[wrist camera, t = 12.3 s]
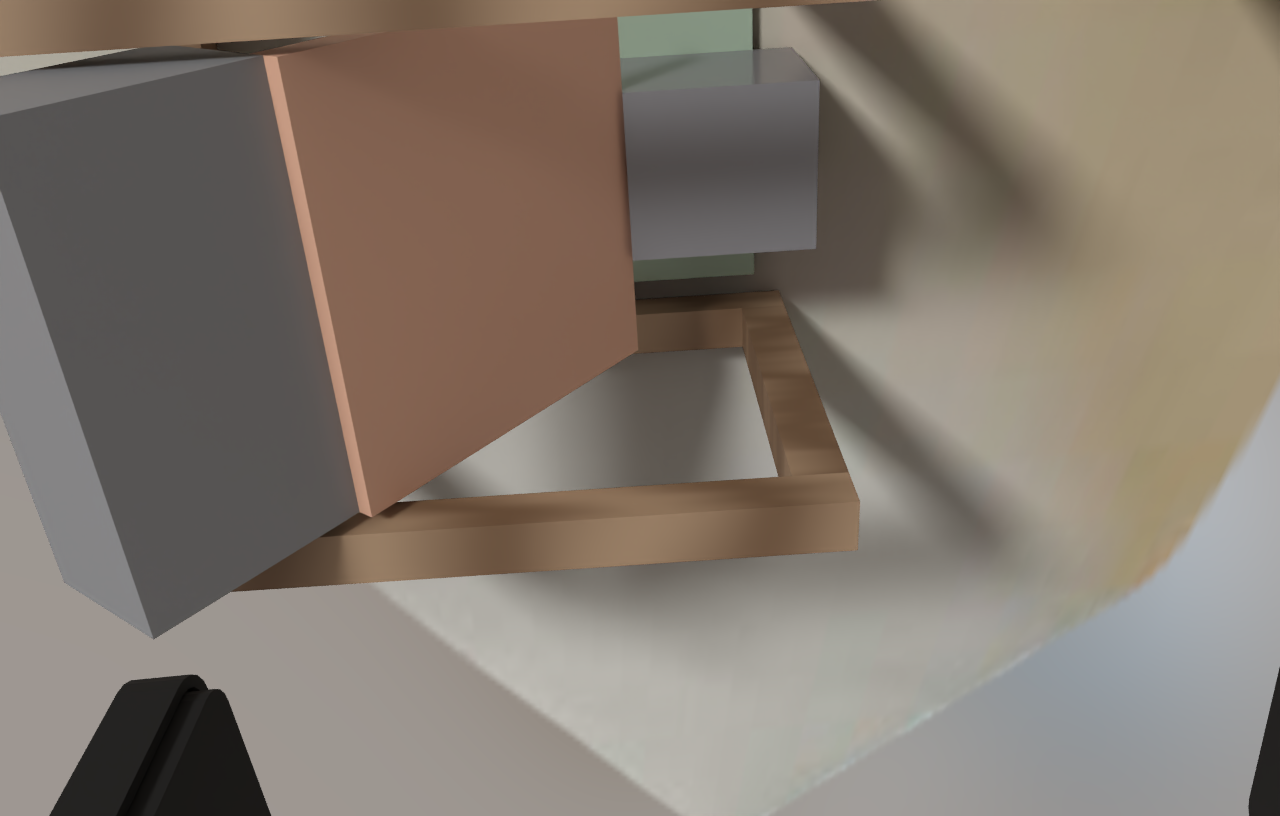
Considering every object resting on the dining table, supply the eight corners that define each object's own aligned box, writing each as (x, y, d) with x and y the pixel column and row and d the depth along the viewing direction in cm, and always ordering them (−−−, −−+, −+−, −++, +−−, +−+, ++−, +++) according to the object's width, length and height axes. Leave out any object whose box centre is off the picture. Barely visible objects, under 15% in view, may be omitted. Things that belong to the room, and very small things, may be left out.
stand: (248, 362, 43) (96, 600, 30) (138, -78, 36) (-129, -17, 23) (778, 327, 44) (857, 550, 30) (780, -119, 36) (886, -82, 23)
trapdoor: (64, 582, 28) (166, 647, 25) (-119, 100, 22) (-10, 123, 20) (539, 323, 40) (638, 350, 38) (501, -26, 35) (615, -22, 32)
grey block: (618, 58, 38) (791, 47, 38) (628, 208, 41) (790, 198, 41) (622, 93, 33) (819, 80, 33) (632, 260, 36) (816, 248, 36)
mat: (750, -36, 37) (752, -34, 37) (752, 270, 42) (754, 274, 42) (425, -15, 37) (423, -13, 37) (467, 288, 42) (466, 292, 42)
